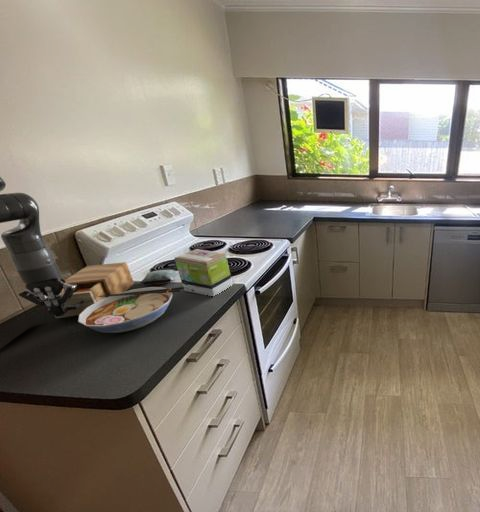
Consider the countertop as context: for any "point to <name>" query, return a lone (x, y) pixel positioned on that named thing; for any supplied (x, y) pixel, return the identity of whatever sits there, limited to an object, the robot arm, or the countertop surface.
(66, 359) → the countertop surface
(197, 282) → the tea box
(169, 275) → the packaged food
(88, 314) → the ramen bowl
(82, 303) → the drawer
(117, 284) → the cabinet
